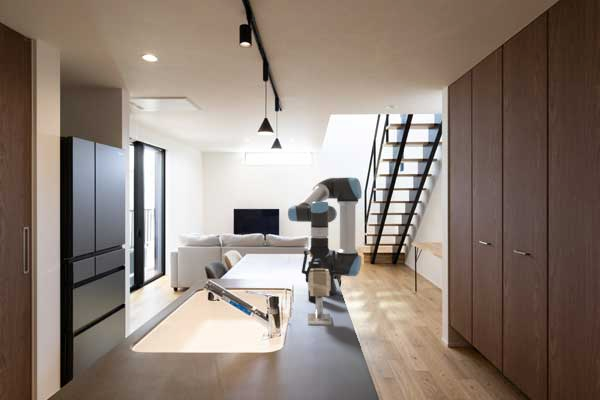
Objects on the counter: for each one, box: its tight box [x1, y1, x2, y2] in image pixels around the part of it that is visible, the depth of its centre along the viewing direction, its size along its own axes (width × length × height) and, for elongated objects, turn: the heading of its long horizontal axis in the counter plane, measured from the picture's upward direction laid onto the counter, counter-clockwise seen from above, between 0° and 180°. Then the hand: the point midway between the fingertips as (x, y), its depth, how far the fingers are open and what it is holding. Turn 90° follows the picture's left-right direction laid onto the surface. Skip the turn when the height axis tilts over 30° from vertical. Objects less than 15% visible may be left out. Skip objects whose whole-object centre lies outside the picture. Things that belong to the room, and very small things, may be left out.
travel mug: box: [307, 260, 323, 304], centre depth 190 cm, size 8×8×20 cm
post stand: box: [307, 296, 333, 326], centre depth 158 cm, size 10×10×13 cm
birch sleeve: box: [310, 269, 330, 297], centre depth 158 cm, size 8×8×10 cm
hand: (319, 289), depth 158 cm, fingers closed on birch sleeve, 8 cm apart
